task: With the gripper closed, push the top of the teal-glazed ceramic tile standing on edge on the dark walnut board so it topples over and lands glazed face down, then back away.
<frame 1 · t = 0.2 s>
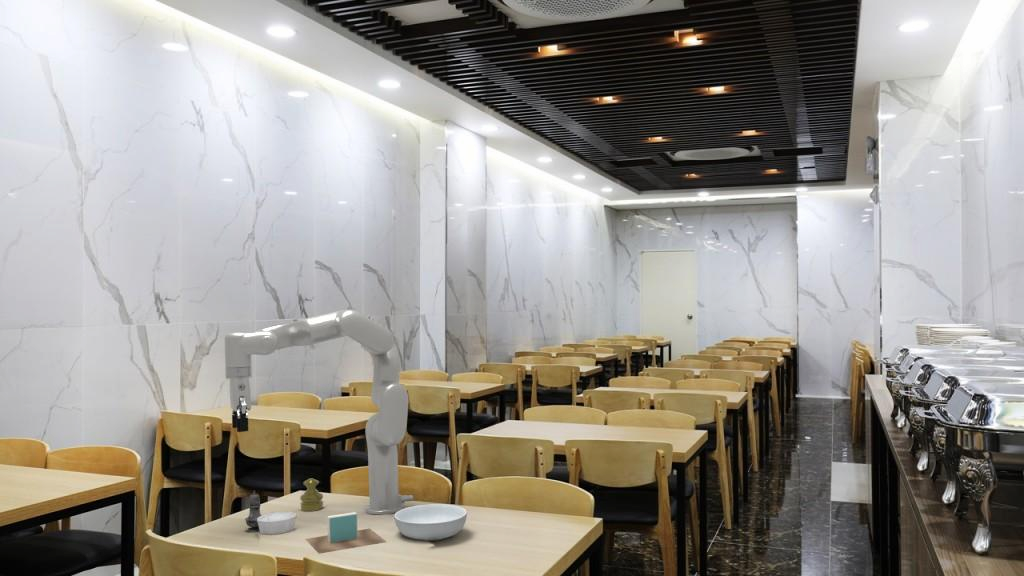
hand: (240, 429, 246), 31 cm above the table, tool pointing down, fingers open, 9 cm apart
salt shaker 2: (312, 509, 271), on the table
salt shaker: (255, 530, 247), on the table
ramekin: (277, 534, 242), on the table
serving bowl: (431, 537, 234), on the table
tile: (342, 539, 229), point 1 cm above the table, touching board
board: (345, 544, 229), on the table
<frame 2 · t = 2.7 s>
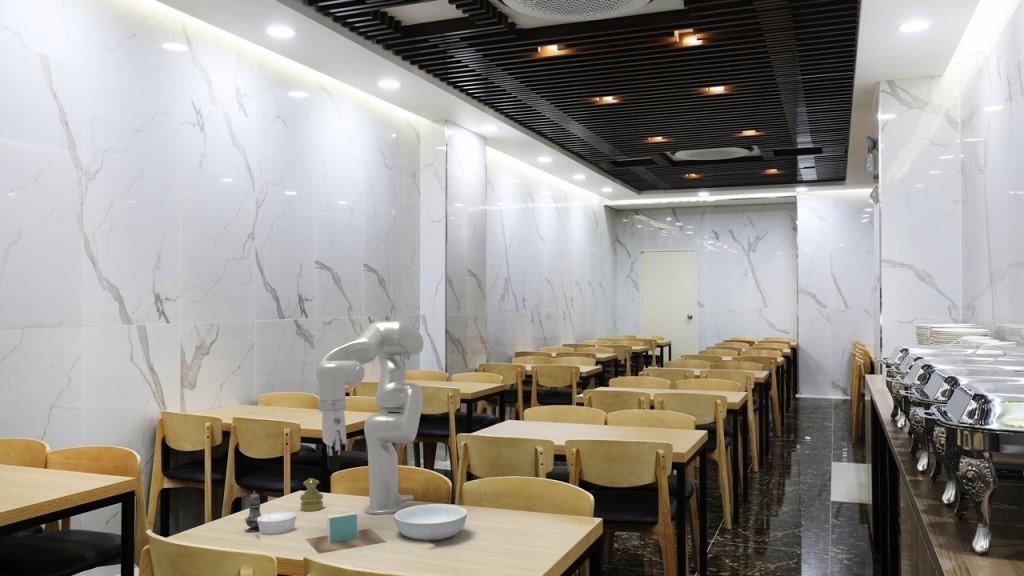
hand: (333, 468, 236), 20 cm above the table, tool pointing down, fingers closed
nothing on the table moved.
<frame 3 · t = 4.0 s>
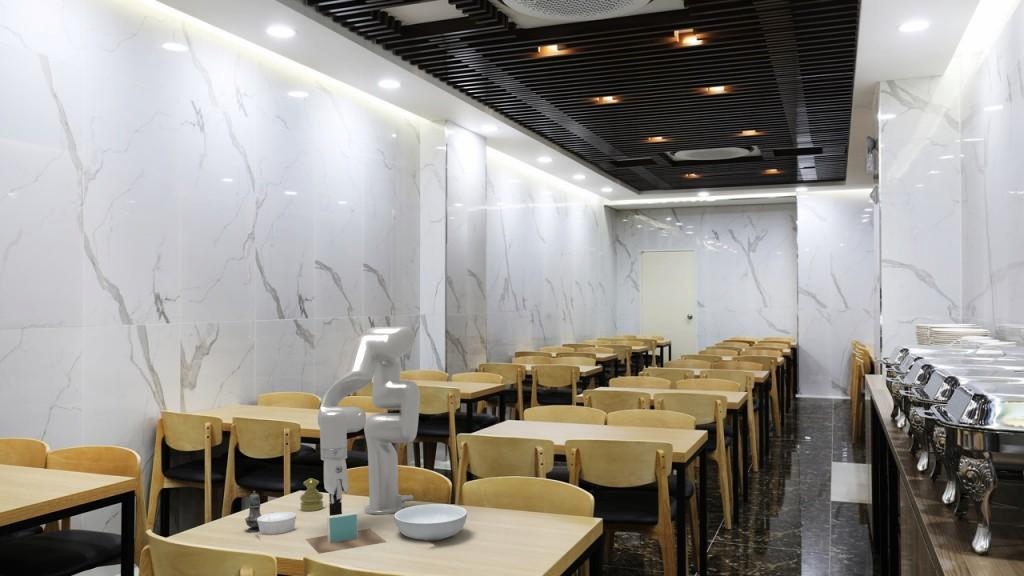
hand: (335, 516, 235), 6 cm above the table, tool pointing down, fingers closed
nothing on the table moved.
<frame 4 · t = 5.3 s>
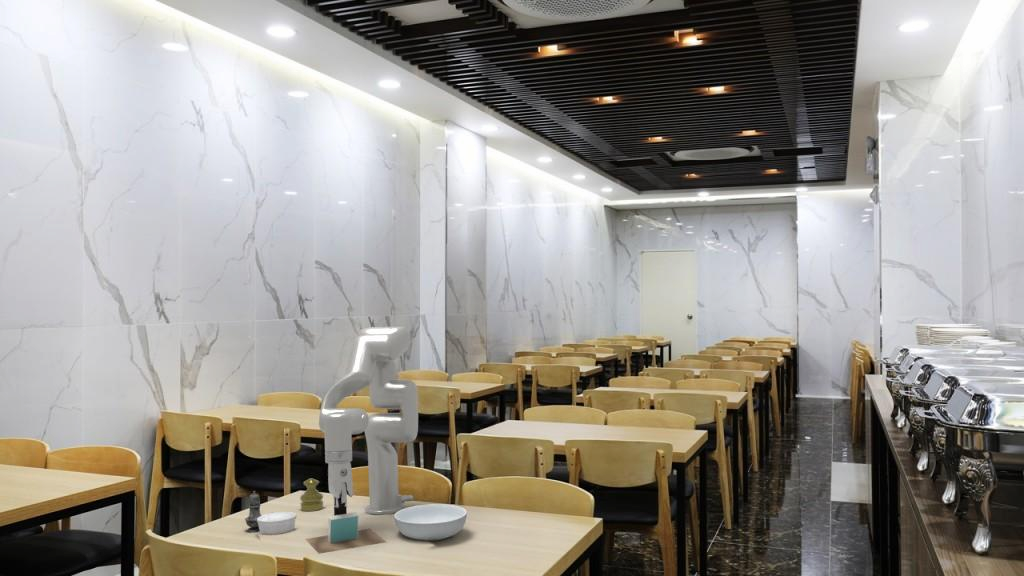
hand: (340, 520, 231), 6 cm above the table, tool pointing down, fingers closed
tile: (342, 539, 229), point 1 cm above the table, tilted 12°, touching board
everything else where it was.
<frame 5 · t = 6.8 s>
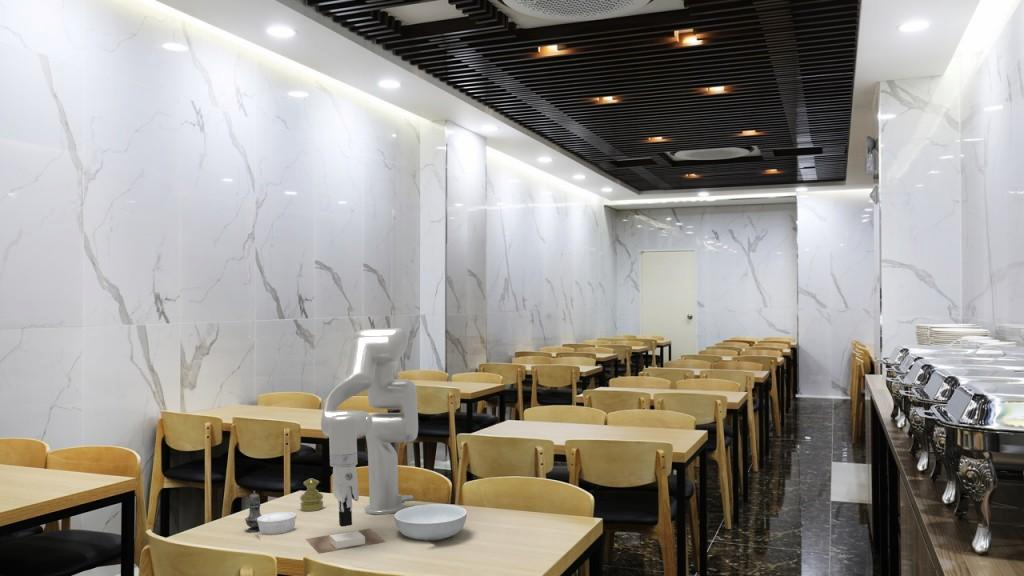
hand: (345, 525, 226), 6 cm above the table, tool pointing down, fingers closed
tile: (343, 536, 228), point 2 cm above the table, tilted 90°, touching board
everything else where it was.
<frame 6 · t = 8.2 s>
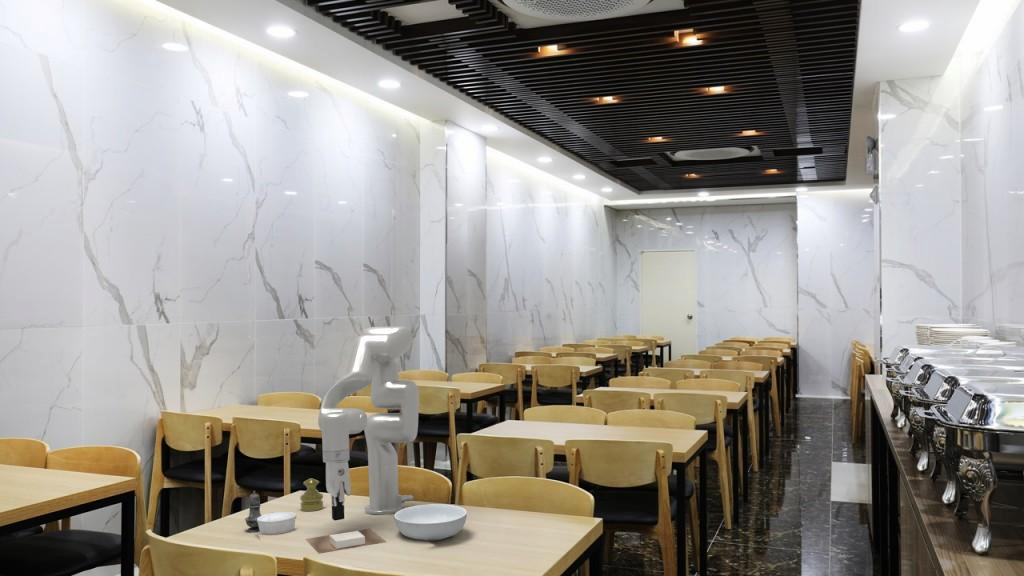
hand: (338, 519, 234), 6 cm above the table, tool pointing down, fingers closed
nothing on the table moved.
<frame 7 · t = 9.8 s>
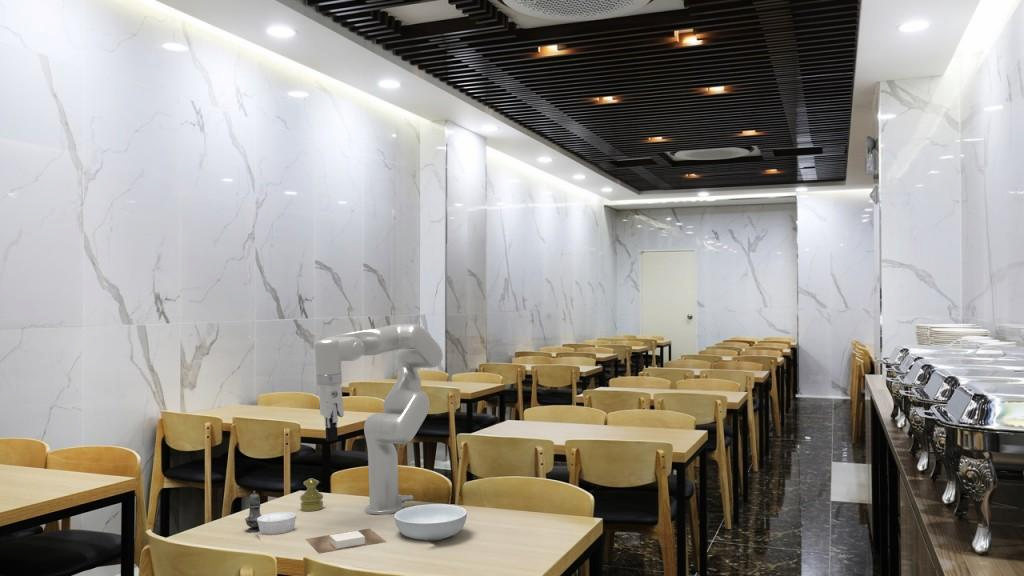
hand: (331, 440, 246), 27 cm above the table, tool pointing down, fingers closed
nothing on the table moved.
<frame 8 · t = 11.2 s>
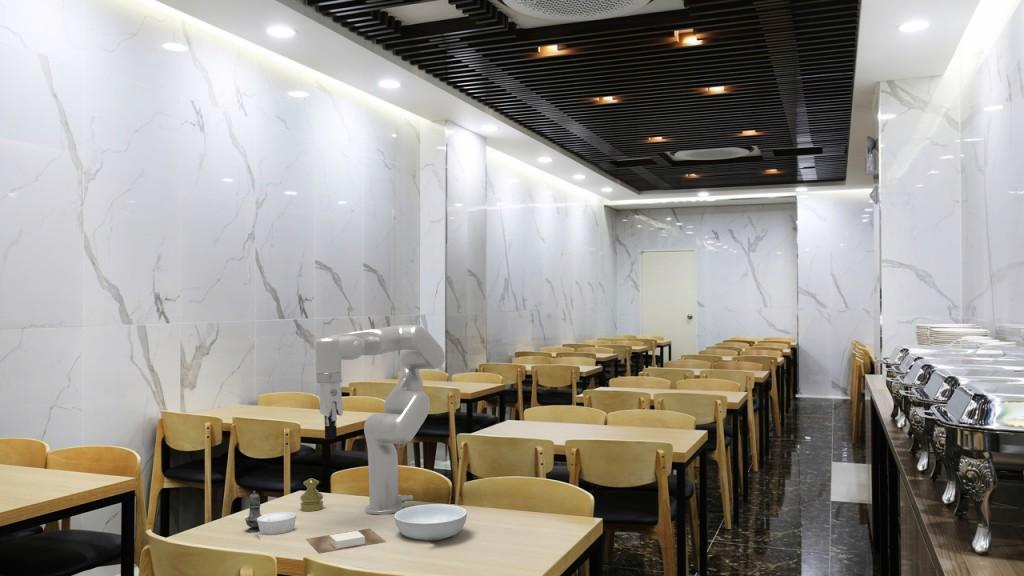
hand: (330, 438, 247), 27 cm above the table, tool pointing down, fingers closed
nothing on the table moved.
at the end: tile tilted 90°; tile inside the target area (0.6 cm from its centre), point 2.4 cm above the table; tile touching board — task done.
